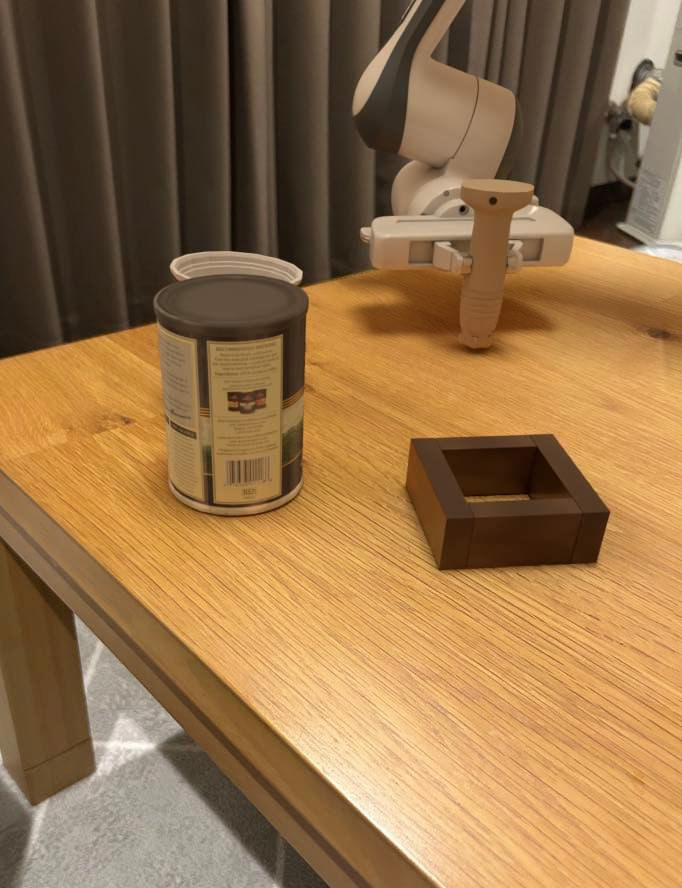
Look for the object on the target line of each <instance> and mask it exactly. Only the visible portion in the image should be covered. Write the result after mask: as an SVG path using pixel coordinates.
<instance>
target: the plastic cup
mask: <svg viewBox="0 0 682 888" xmlns="http://www.w3.org/2000/svg"><path fill="white" fill-rule="evenodd" d="M169 269H170V272H171V274H172V275H173V276H174V278H175V283H176V282H179V281H182V280H186V279H190V278H194V277H201V276H208V275H218V274H249V275H260V276H266V277H272V278H276V279H281V280H284V281H287V282H289V283H292V284H294V285H296V286H299V285H300V284H301V282H302V279H303V270H302V269H300V268H299V267H297V266H296V265H295V264H293V263H291V262H288V261H286V260H282V259H280V258H277V257H272V256H267V255H263V254H259V253H252V252H251V253H250V252H239V251H230V250H229V251H226V250H225V251H201V252H194V253H186V254H184V255H181V256H179V257H176V258H173V260H172V262H171V263H170V265H169Z"/></svg>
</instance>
